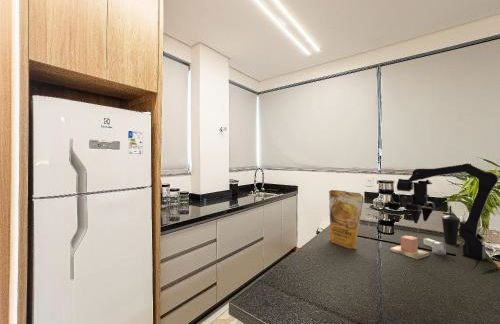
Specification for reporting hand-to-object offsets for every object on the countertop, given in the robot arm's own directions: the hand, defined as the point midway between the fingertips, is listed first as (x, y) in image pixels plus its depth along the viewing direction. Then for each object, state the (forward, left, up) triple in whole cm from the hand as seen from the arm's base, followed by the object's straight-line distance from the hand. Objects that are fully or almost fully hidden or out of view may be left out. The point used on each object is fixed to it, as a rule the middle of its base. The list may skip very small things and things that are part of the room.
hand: (420, 222), depth 122 cm
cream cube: (+2, +4, -12) cm, 13 cm away
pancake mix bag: (+20, +35, -12) cm, 42 cm away
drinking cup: (-6, -18, -12) cm, 23 cm away
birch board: (-3, +17, -12) cm, 21 cm away
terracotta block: (-3, +17, -11) cm, 20 cm away
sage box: (-3, -4, -12) cm, 13 cm away
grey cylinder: (-10, +5, -12) cm, 16 cm away
